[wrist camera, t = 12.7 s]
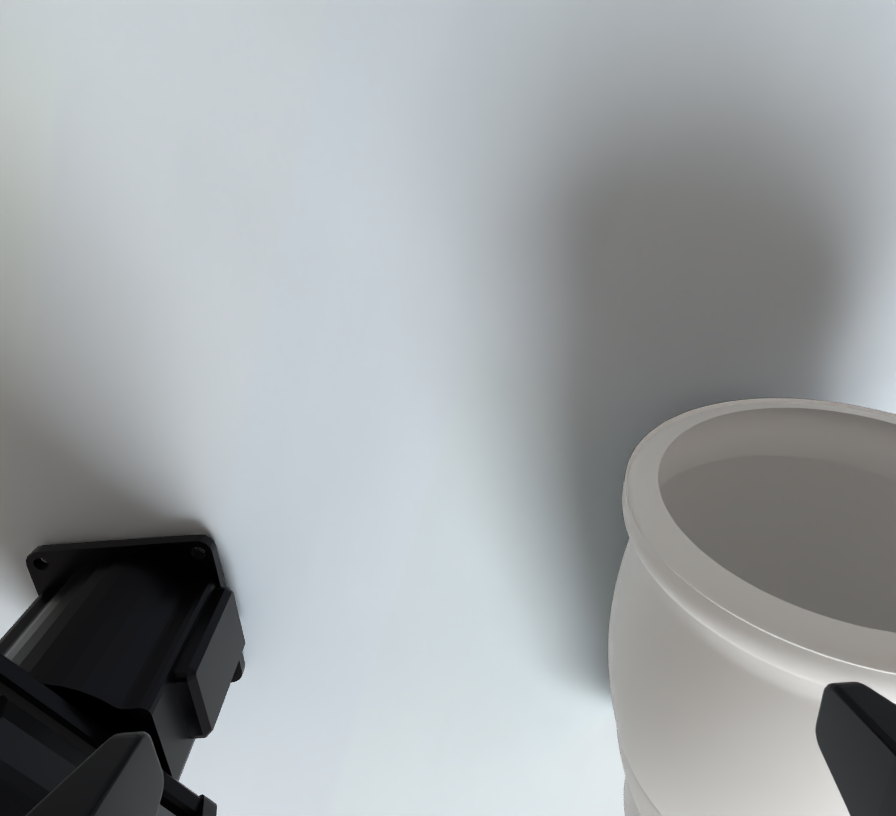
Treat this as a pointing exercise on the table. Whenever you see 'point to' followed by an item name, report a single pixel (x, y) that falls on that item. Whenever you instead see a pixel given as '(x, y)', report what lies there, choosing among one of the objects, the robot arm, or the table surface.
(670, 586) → the jar
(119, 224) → the table surface
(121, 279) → the table surface
